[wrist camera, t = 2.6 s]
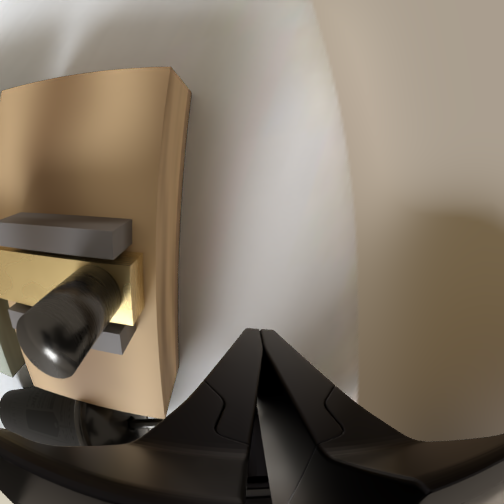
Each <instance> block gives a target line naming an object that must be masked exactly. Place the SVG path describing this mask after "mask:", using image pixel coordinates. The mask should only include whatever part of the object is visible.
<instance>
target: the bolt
mask: <svg viewBox="0 0 504 504" xmlns="http://www.w3.org/2000/svg"><path fill="white" fill-rule="evenodd" d="M0 298H2V299H6V300H10V301H14V302H18V303H21V304H25V305H30V306H32V307H31V308H30V309H29V310H28V311H27V312H26V313H24V314H23V315H22V316H21V317H20V318H19V320H18V322H17V326H16V334H17V339H18V342H19V344H20V347H21V349H22V350H23V352H24V354H25V355H26V357H27V358H28V359H29V360H30V362H31V363H32V364H33V365H34V366H35V367H37V368H38V369H39V370H40V371H42V372H43V373H45V374H47V375H49V376H51V377H54V378H59V379H65V378H69V377H71V376H72V375H73V374H74V373H75V371H76V370H77V368H78V367H79V365H80V364H81V362H82V361H83V359H84V358H85V356H86V355H87V353H88V352H89V351H90V349H91V348H92V346H93V345H94V343H95V342H96V340H97V339H98V338H99V336H100V335H101V333H102V332H103V330H104V329H105V328H106V326H107V325H108V323H109V322H113V323H119V324H125V325H131V326H134V324H135V322H136V320H137V319H138V317H139V315H140V314H141V312H142V310H143V309H144V307H145V304H144V277H143V253H140V252H130V251H123V252H122V253H121V254H120V255H119V256H117V257H116V258H115V259H114V260H109V259H100V258H91V257H83V256H75V255H66V254H58V253H50V252H42V251H34V250H27V249H19V248H12V247H4V246H0Z"/></svg>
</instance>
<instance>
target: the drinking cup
mask: <svg viewBox="0 0 504 504" xmlns="http://www.w3.org/2000/svg"><path fill="white" fill-rule="evenodd" d="M0 418H1V421H2V423H3V425H4V427H5V428H6V430H9V431H11V432H14V433H16V434H18V435H20V436H22V437H24V438H26V439H29V440H31V441H34V442H38V443H41V444H46V445H53V446H106V445H121V444H127V443H130V442H133V441H135V440H137V439H139V438H140V437H142V436H143V435H145V434H146V433H147V432H148V431H150V429H152V428H153V427H155V426H156V425H157V424H158V423H160V422H161V421H162V420H163V419H159V418H154V419H148V416H142V415H137V414H132V413H127V412H123V411H118V410H114V409H110V408H105V407H101V406H97V405H94V404H90V403H86V402H83V401H79V400H76V399H72V398H69V397H66V396H62V395H59V394H56V393H53V392H50V391H47V390H44V389H42V388H39V387H31V388H25V389H18V390H11V391H8V392H7V393H5V394H4V395H3V397H2V398H1V401H0Z"/></svg>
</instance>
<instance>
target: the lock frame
mask: <svg viewBox="0 0 504 504" xmlns="http://www.w3.org/2000/svg"><path fill="white" fill-rule="evenodd" d="M191 94H192V92H191V91H190V90H189V89H188V87H187V86H186V85H185V84H184V82H183V81H182V80H181V79H180V78H179V76H178V75H177V74H176V73H175V71H174V70H173V69H172V68H171V67H146V68H129V69H117V70H107V71H98V72H90V73H83V74H76V75H70V76H64V77H58V78H53V79H48V80H43V81H39V82H34V83H30V84H26V85H22V86H18V87H14V88H10V89H7V90H3V91H2V92H1V98H0V246H4V247H12V248H19V249H27V250H34V251H42V252H50V253H58V254H66V255H75V256H83V257H91V258H100V259H109V260H114V259H115V258H116V257H117V256H119V255H120V254H121V253H122V252H123V251H130V252H140V253H143V277H144V304H145V307H144V309H143V310H142V312H141V314H140V315H139V317H138V319H137V320H136V322H135V324H134V326H131V325H125V324H119V323H113V322H109V323H108V325H107V326H106V328H105V329H104V330H103V332H102V333H101V335H100V336H99V338H98V339H97V340H96V342H95V343H94V345H93V346H92V348H91V349H90V351H89V352H88V353H87V355H86V356H85V358H84V359H83V361H82V362H81V364H80V365H79V367H78V368H77V370H76V371H75V373H74V374H73V375H72V376H71V377H69V378H65V379H59V378H54V377H51V376H49V375H47V374H45V373H43V372H42V371H40V370H39V369H38V368H37V367H35V366H34V365H33V364H32V363H31V362H30V360H29V359H28V358H27V357H26V355H25V354H24V352H23V350H22V349H21V347H20V344H19V342H18V339H17V334H16V326H17V322H18V320H19V318H20V317H21V316H22V315H23V314H24V313H26V312H27V311H28V310H29V309H30V308H31V307H32V306H30V305H25V304H21V303H18V302H14V301H10V300H6V299H2V298H0V372H1V373H3V374H6V375H8V376H10V377H14V375H15V374H16V373H17V372H18V371H19V369H20V368H21V367H22V366H23V365H24V364H25V363H26V366H27V368H28V371H29V374H30V377H31V379H32V382H33V384H34V386H36V387H39V388H42V389H44V390H47V391H50V392H53V393H56V394H59V395H62V396H66V397H69V398H72V399H76V400H79V401H83V402H86V403H90V404H94V405H97V406H101V407H105V408H110V409H114V410H118V411H123V412H127V413H132V414H137V415H142V416H148V417H153V418H159V419H165V418H166V414H167V410H168V406H169V402H170V398H171V394H172V390H173V387H174V383H175V379H176V375H177V371H178V368H179V357H178V262H179V234H180V214H181V197H182V183H183V170H184V158H185V147H186V137H187V127H188V118H189V110H190V102H191Z"/></svg>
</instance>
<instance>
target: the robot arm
mask: <svg viewBox="0 0 504 504" xmlns="http://www.w3.org/2000/svg"><path fill="white" fill-rule="evenodd" d="M256 405H257V407H256ZM0 490H1V491H2V492H3V493H4V495H6V496H7V498H8V499H9V500H10V501H12V503H14V504H504V434H500V435H496V436H491V437H484V438H474V439H465V440H452V441H433V442H425V441H418V440H414V439H412V438H409V437H407V436H405V435H403V434H401V433H400V432H398V431H397V430H395V429H394V428H392V427H391V426H389V425H388V424H386V423H385V422H383V421H382V420H380V419H378V418H377V417H376V416H374V415H372V414H371V413H370V412H368V411H367V410H365V409H364V408H363V407H361V406H360V405H358V404H357V403H356V402H354V401H353V400H352V399H351V398H349V397H348V396H347V395H346V394H345V393H343V392H342V391H341V390H340V389H339V388H338V387H335V385H334V384H333V383H332V382H331V381H329V380H328V379H327V378H326V377H325V376H324V375H323V374H322V373H320V372H319V371H318V370H317V369H316V368H315V367H314V366H313V365H311V364H310V363H309V362H308V361H307V360H306V359H305V358H304V357H302V356H301V355H300V354H299V353H298V352H297V351H296V350H295V349H294V348H293V347H291V346H290V345H289V344H288V343H287V342H286V341H285V340H284V339H283V338H282V337H281V336H279V335H278V334H277V333H276V332H275V331H274V330H267V329H261V330H260V331H259V329H252V328H246V329H245V330H244V331H243V333H242V334H241V335H240V336H239V338H238V339H237V340H236V341H235V343H234V344H233V345H232V346H231V348H230V349H229V350H228V351H227V353H226V354H225V355H224V356H223V357H222V359H221V360H220V361H219V362H218V364H217V365H216V366H215V367H214V369H213V370H212V371H211V372H210V373H209V375H208V376H207V377H206V378H205V379H204V381H203V382H202V383H201V384H200V385H199V386H198V388H197V389H196V390H195V391H194V392H193V393H192V394H191V395H190V396H189V398H188V399H187V400H186V401H184V402H183V403H182V404H181V405H180V406H179V407H178V408H177V409H176V410H174V411H173V412H172V413H171V414H169V415H168V416H167V417H166V418H165V419H163V420H162V421H161V422H160V423H158V424H157V425H156V426H155V427H153V428H152V429H151V430H150V431H148V432H147V433H146V434H145V435H143V436H142V437H140V438H139V439H137V440H135V441H133V442H130V443H127V444H121V445H106V446H53V445H46V444H41V443H38V442H34V441H31V440H29V439H26V438H24V437H22V436H20V435H18V434H16V433H14V432H11V431H9V430H6V429H3V428H0Z"/></svg>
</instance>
